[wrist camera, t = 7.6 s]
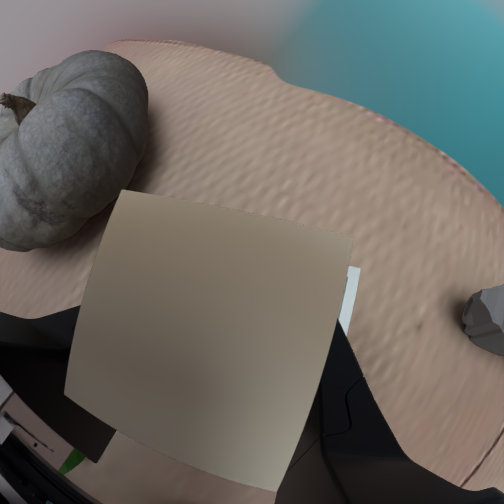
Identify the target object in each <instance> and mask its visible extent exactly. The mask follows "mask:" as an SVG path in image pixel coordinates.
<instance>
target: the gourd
mask: <svg viewBox="0 0 504 504" xmlns="http://www.w3.org/2000/svg"><path fill="white" fill-rule="evenodd" d="M0 104H2V105H3V107H2V109H1V113H0V247H1V248H4V249H6V250H11V251H19V252H28V251H31V250H33V249H35V248H42V247H47V246H50V245H53V244H55V243H57V242H59V241H61V240H65V239H67V238H69V237H71V236H72V235H73V234H75V233H76V232H78V231H79V230H80V229H81V228H82V227H83V226H84V224H85V223H86V222H87V221H88V219H89V218H90V217H91V216H94V215H96V214H98V213H99V212H101V211H102V210H103V209H104V208H105V207H106V206H107V205H108V204H109V203H110V202H111V201H113V200H114V199H115V198H116V197H117V196H119V195H120V193H121V190H125V188H126V187H127V186H128V184H129V182H130V181H131V179H132V177H133V175H134V172H135V169H136V166H137V164H138V163H139V162H140V160H141V159H142V157H143V154H144V152H145V149H146V146H147V142H148V120H147V108H148V89H147V86H146V83H145V80H144V78H143V76H142V74H141V73H140V71H139V70H138V69H137V68H136V66H135V65H134V64H132V63H131V62H130V61H128V60H126V59H124V58H122V57H121V56H119V55H117V54H113V53H110V52H104V51H97V50H90V51H83V52H80V53H77V54H74V55H72V56H70V57H68V58H67V59H65V60H64V61H63V62H61V63H60V64H58V65H56V66H53V67H51V68H46V69H44V70H42V71H40V72H38V73H37V74H36V75H35V76H34V77H33V78H28V79H26V80H24V81H23V82H21V83H20V84H19V85H18V86H17V87H16V88H15V89H14V90H13V91H12V92H11V93H10V94H5V93H3V94H2V95H1V96H0Z"/></svg>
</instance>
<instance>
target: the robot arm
mask: <svg viewBox="0 0 504 504" xmlns="http://www.w3.org/2000/svg"><path fill="white" fill-rule="evenodd" d="M80 307H81V305H79V306H76V307H73V308H70V309H67V310H64V311H61V312H57V313H54V314H51V315H48V316H44V317H41V318H37V319H24V318H20V317H16V316H13V315H9V314H6V313H2V312H0V504H46V501H47V500H49V501H50V502H52V503H53V504H102V503H101V502H99V501H98V500H96V499H95V498H93V497H92V496H90V495H89V494H88V493H86V492H85V491H83V490H82V489H81V488H79V487H78V486H77V485H75V484H74V483H73V482H71V481H70V480H69V479H68V478H66V477H65V476H64V475H63V474H61V473H60V472H59V471H60V469H61V468H62V466H63V465H64V463H65V462H66V460H67V459H68V457H69V456H70V455H71V453H72V452H73V450H74V449H76V450H77V451H79V452H80V453H81V454H83V455H84V456H85V457H87V458H88V459H90V460H91V461H93V462H94V463H97V462H98V460H99V459H100V457H101V455H102V454H103V452H104V450H105V449H106V447H107V445H108V444H109V442H110V440H111V439H112V437H113V435H114V434H115V432H116V429H114V428H113V427H111V426H110V425H108V424H106V423H105V422H103V421H102V420H100V419H99V418H97V417H95V416H94V415H92V414H91V413H89V412H88V411H87V410H85V409H84V408H82V407H81V406H79V405H78V404H77V403H75V402H74V401H73V400H71V399H70V398H69V397H67V396H66V395H65V394H64V390H65V382H66V375H67V369H68V363H69V357H70V352H71V346H72V341H73V337H74V332H75V327H76V323H77V319H78V315H79V311H80ZM275 504H504V493H503V492H501V491H500V490H498V489H497V488H495V487H491V488H487V489H484V490H480V491H470V490H466V489H462V488H460V487H458V486H456V485H454V484H452V483H450V482H448V481H446V480H445V479H443V478H441V477H439V476H437V475H436V474H434V473H432V472H430V471H428V470H427V469H425V468H423V467H422V466H420V465H418V464H417V463H415V462H413V461H412V460H411V459H410V458H409V457H408V456H407V455H406V454H405V453H404V451H403V450H402V449H401V447H400V445H399V444H398V442H397V440H396V438H395V436H394V434H393V433H392V431H391V429H390V427H389V425H388V424H387V422H386V420H385V418H384V417H383V415H382V413H381V411H380V409H379V407H378V405H377V403H376V402H375V400H374V397H373V395H372V393H371V391H370V389H369V387H368V384H367V382H366V379H365V377H363V373H362V370H361V368H360V366H359V364H358V361H357V359H356V357H355V354H354V352H353V350H352V348H351V346H350V343H349V341H348V339H347V337H346V335H345V332H344V330H343V328H342V326H341V324H340V322H339V319H338V318H337V322H336V326H335V330H334V333H333V337H332V341H331V344H330V348H329V352H328V355H327V359H326V362H325V365H324V369H323V372H322V375H321V379H320V382H319V385H318V388H317V391H316V394H315V397H314V400H313V403H312V406H311V409H310V412H309V414H308V417H307V420H306V423H305V425H304V428H303V431H302V433H301V436H300V439H299V441H298V444H297V446H296V449H295V451H294V454H293V456H292V459H291V461H290V463H289V466H288V468H287V470H286V473H285V475H284V477H283V479H282V481H281V484H280V486H279V488H278V490H277V495H276V499H275Z"/></svg>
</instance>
